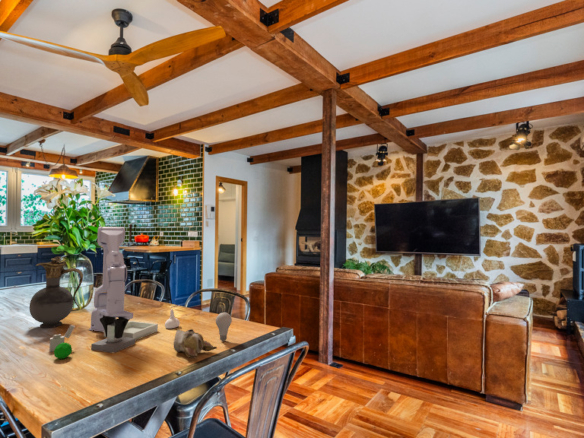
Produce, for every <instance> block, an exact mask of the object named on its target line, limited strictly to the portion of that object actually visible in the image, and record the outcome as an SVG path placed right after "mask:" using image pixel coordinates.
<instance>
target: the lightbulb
mask: <svg viewBox="0 0 584 438" xmlns="http://www.w3.org/2000/svg"><path fill="white" fill-rule="evenodd" d="M232 320H233V318H232V316H231V315H230V314H229V313H228V312H226V311H225V312H220V313H219V314H218V315H217V316H216V318H215V325H216V327H217V328H218V333H219V334H218V335H219V340H220V341H221V342H225V341H226V340H227V337H228V332H229V328H230V326H231V324H232V322H233V321H232Z"/></svg>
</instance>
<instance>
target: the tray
mask: <svg viewBox="0 0 584 438" xmlns="http://www.w3.org/2000/svg"><path fill="white" fill-rule="evenodd" d="M158 325H159V323H152V322H151V323H150V322H145V321H144V322H143V321H134V320H129V321H128V323H127V325H126V327H125V329H124V332H123V336H122V337H128V338H135V341H137V340H140V339H142V338H145V337H147V336H149V335H151V334H154V333H157V332H158V331H159V329H158V328H159V327H158ZM105 337H106V334H105V330H104V332H103V338H105Z"/></svg>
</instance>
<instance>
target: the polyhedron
mask: <svg viewBox="0 0 584 438" xmlns="http://www.w3.org/2000/svg"><path fill="white" fill-rule="evenodd" d="M72 351H73V348H72V345H71V344H70V343H68V342H64V343H61V344H59V345H57V346H56V348H55V350H54V351H53V355H54V357H55V358H57V359H59V360H62V359H63V360H64V359H65V358H68V357H69V356H70V355H71V354H72Z"/></svg>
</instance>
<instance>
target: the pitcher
mask: <svg viewBox="0 0 584 438" xmlns="http://www.w3.org/2000/svg"><path fill="white" fill-rule="evenodd" d="M50 260H51V261H49V262H48V261H47V262H39V263H37V264H36V265H35V266H36V267H37V266H41V267H43V269H44V270H45V279H46V280H45V287H43V288H42V289H39V290H38V291H36V292H35V293H34V294H33V296H32V298H31V299H30V302H29V306H28V307H29V314H30V316H31V317H32V318H33V319H34V321H36V322H38V323H41V324H40V325H39V328H41V329H49V328H51V329H52V328H57V327H60V326H62V325H63V320H64V319H66V318H67V317H69V315H70V314H71V312H72V311H73V308H74V304H75V306H77V308H78V309H79V308H80V306H79V304H78V303H77V301H76V295H77V292H78V291H79V289H80V287H81V285H82V283H83V280H84V279H83V278H84V274H83V272H82V270H81V269H79V268H77V267H76V268H75V267H71V268H67V269H66V268H64V266H65V265H66V264H67V262H68V260H63V261H62V257H61V256H55V257H54V258H53V257H52V258H51V259H50ZM61 261H62V262H61ZM71 272H73V273H77V274H78V275H79V281H78V284H77V287H76V288H75V291H74V292H73V295H72V293H71V291H70V290H69V289H67V288H65V287H62V286H61V284H60V283H61V277H62V275H64V274H68V273H71Z"/></svg>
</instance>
